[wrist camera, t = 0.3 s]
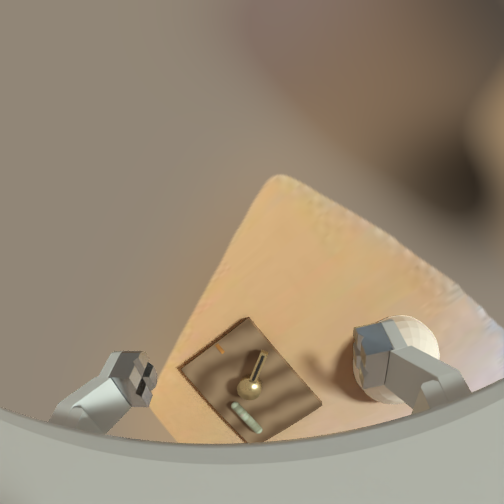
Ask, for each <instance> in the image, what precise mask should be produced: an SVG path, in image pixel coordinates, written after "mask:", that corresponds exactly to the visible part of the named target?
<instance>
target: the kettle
mask: <svg viewBox="0 0 504 504" xmlns="http://www.w3.org/2000/svg"><path fill="white" fill-rule="evenodd" d="M389 319H393V320H394V322H395V324H396V325H397V327H398V329H399V331H400V333H401V334H402V336H403V338H404V340H405V342H406V344H407V346H413V347H415V348H417V349H419V350H421V351H423V352H425V353H427V354H429V355H431V356H432V357H434V358H436V359H438V360H439V358H440V354H439V349H438V344H437V340H436V338H435V336H434V335H433V333H432V331H430V330H429V329H428V328H427V327H426V326H425V325H424V324H423V323H422V322H421V321H419V320H417V319H415V318H413V317H411V316H403V315H398V316H392V317H388V318H386V319H383V320H381V321H385V320H389ZM381 321H379V322H381ZM353 373H354V376H355V379H356V382H357V383H358V384H359V386H360V387H361V389H362V390H364V392H365V393H366V394H367V395H368V396H370V397H371V398H372V399H374V400H375V401H378V402H381V403H385V404H401V403H405V402H404V401H402V400H401V399H400V398H399V397H398V396H396V395H395V394H394V393H393V392H391V391H390V390H389V389H388V388H386V387H385V385H382V386H377V387H372V388H368V389H363V388H362V385H361V382H360V378H359V369H357V368H356V365H355V361H354V358H353Z"/></svg>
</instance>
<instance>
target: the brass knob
mask: <svg viewBox="0 0 504 504" xmlns="http://www.w3.org/2000/svg"><path fill="white" fill-rule="evenodd" d="M267 355H268V352H267V351H264V350H261V353H260V355H259V357H258V360H257V362H256V365H255V367H254V370H253V372H252V374H251V375H246V376H244V377H242V378H241V380H240V382H239V384H238V386H237V393H238V395H239V396H240V397H241V398H243V399H245V400H254V399H256V398H258V397H259V395H260V393H261V389H262V382H261V380H260V379H259V378H258V377H259V374H260V372H261V370H262V367H263V365H264V362H265V360H266V358H267Z"/></svg>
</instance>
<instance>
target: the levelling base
mask: <svg viewBox="0 0 504 504" xmlns="http://www.w3.org/2000/svg"><path fill="white" fill-rule="evenodd" d="M261 350H264V351H267V352H268V355H267V358H266V360H265V362H264V365H263V367H262V370H261V372H260V374H259V377H258V378H259V379H260V380H261V382H262V389H261V393H260V395H259V397H258V398H256V399H254V400H245V399H243V398H241V397H240V396H239V395H238V393H237V386H238V384H239V382H240V380H241V378H242V377H244V376H246V375H251V374H252V372H253V370H254V367H255V365H256V362H257V360H258V357H259V355H260V353H261ZM181 370H182V371H183V372H184V374H185V375H186V376H187V377H188V378H189V380H190V381H191V382H192V383H193V384H194V385H195V387H196V388H197V389H198V390H199V391H200V392H201V394H202V395H203V396H204V397H205V398H206V399H207V400H208V401H209V402H210V404H211V405H212V406H213V407H214V408H215V409H216V410H217V411H218V412H219V413H220V414H221V416H222V417H223V418H224V419H225V420H226V421H227V422H228V423H229V424H230V425H231V426H232V427H233V428H234V429H235V430H236V431H237V432H238V433H239V434H240V435H241V436H242V437H243V438H244V439H245V440H246V441H247V442H248V443H256V442H264V441H266V440H267V439H269V438H271V437H273V436H274V435H276V434H278V433H280V432H281V431H283V430H285V429H286V428H288V427H290V426H291V425H293V424H294V423H296V422H298V421H299V420H301V419H302V418H304V417H305V416H307V415H309V414H310V413H312V412H313V411H315V410H316V409H318V408H319V407H321V406H322V401H321V400H320V399H319V398H318V397H317V396H316V395H315V394H314V392H313V391H312V390H311V389H310V388H309V387H308V386H307V384H306V383H305V382H304V381H303V380H302V379H301V378H300V377H299V375H298V374H297V373H296V372H295V371H294V370H293V368H292V367H291V366H290V365H289V364H288V363H287V362H286V360H285V359H284V358H283V357H282V356H281V355H280V353H279V352H278V351H277V350H276V349H275V348H274V346H273V345H272V344H271V343H270V342H269V340H268V339H267V338H266V337H265V336H264V334H263V333H262V332H261V331H260V330H259V328H258V327H257V326H256V325H255V324H254V322H253V321H252V320H251V319H250V318H249V317H248V318H247V319H246V320H245V321H243V322H242V323H241V324H239V325H238V326H237V327H236V328H234V329H233V330H232V331H230V332H229V333H228V334H227V335H225V336H224V337H223V338H221V339H220V340H219V341H217V342H216V343H215V344H213V345H212V346H211V347H210V348H208V349H207V350H206V351H204V352H203V353H202V354H200V355H199V356H198V357H196V358H195V359H194V360H192V361H191V362H189V363H188V364H187V365H185V366H184V367H183V368H182V369H181Z"/></svg>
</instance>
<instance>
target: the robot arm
mask: <svg viewBox="0 0 504 504" xmlns="http://www.w3.org/2000/svg"><path fill="white" fill-rule="evenodd" d="M353 336H354V339H355V343H354V344H353V355H354V361H355V365H356V368H357V369H359V378H360V382H361V385H362V388H363V389H368V388H372V387H377V386H382V385H385V387H386V388H388V389H389V390H390V391H391V392H393V393H394V394H395V395H396V396H398V397H399V398H400V399H401V400H402V401H404V402H405V403H406V404H407V405H409V406H410V407H411V408H412V409H413V411H412V414H411V415H409V416H405V417H402V418H398V419H395V420H391V421H388V422H384V423H380V424H376V425H372V426H367V427H363V428H358V429H354V430H349V431H344V432H338V433H333V434H327V435H321V436H314V437H307V438H299V439H291V440H281V441H270V442H256V443H234V444H194V443H172V442H159V441H149V440H140V439H130V438H124V437H117V436H110V435H105V434H106V433H107V432H108V431H109V430H110V429H111V428H112V427H113V426H114V425H115V424H116V423H117V422H118V421H119V420H120V419H121V418H122V417H123V415H125V413H127V412H128V410H129V409H130V408H131V407H149V404H150V401H151V398H152V393H151V390H153V389H154V388H155V387H156V384H157V373H156V370H155V368H154V366H153V365H151V364H150V363H149V362H148V361H149V357H148V355H147V353H146V352H144V351H114V352H112V353H111V354H110V356H109V358H108V360H107V362H106V363H105V365H104V367H103V369H102V371H101V373H100V374H99V376H98V377H95V378H93V379H92V380H90V381H89V382H88V383H86V384H85V385H84V386H82V387H81V388H79V389H78V390H76V391H75V392H74V393H72V394H71V395H70V396H68V397H67V398H65V399H64V400H62V401H61V402H60V403H58V406H57V407H56V409H55V411H54V413H53V415H52V416H51V418H50V420H49V422H46V421H42V420H39V419H35V418H32V417H29V416H26V415H23V414H20V413H17V412H14V411H11V410H9V409H6V408H3V407H0V504H504V378H502V379H500V380H498V381H496V382H494V383H492V384H490V385H488V386H486V387H483V388H481V389H479V390H477V391H474V392H472V393H471V391H470V389H469V387H468V386H467V384H466V382H465V380H464V378H463V377H462V375H461V373H460V371H459V370H457V369H456V368H454V367H452V366H450V365H448V364H446V363H444V362H442V361H440V360H438V359H436V358H434V357H432V356H431V355H429V354H427V353H425V352H423V351H421V350H419V349H417V348H415V347H413V346H407V344H406V342H405V340H404V338H403V336H402V334H401V333H400V331H399V329H398V327H397V325H396V324H395V322H394V320H393V319H389V320H385V321H381V322H377V323H373V324H368V325H363V326H358V327H354V330H353Z"/></svg>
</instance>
